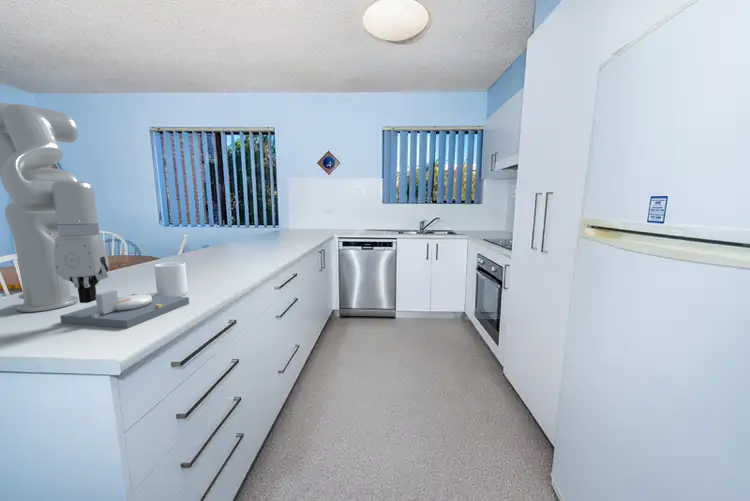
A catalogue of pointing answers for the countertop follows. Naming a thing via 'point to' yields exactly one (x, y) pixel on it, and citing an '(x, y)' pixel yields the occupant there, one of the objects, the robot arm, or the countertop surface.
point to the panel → (125, 313)
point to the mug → (171, 279)
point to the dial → (120, 301)
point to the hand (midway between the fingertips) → (88, 301)
